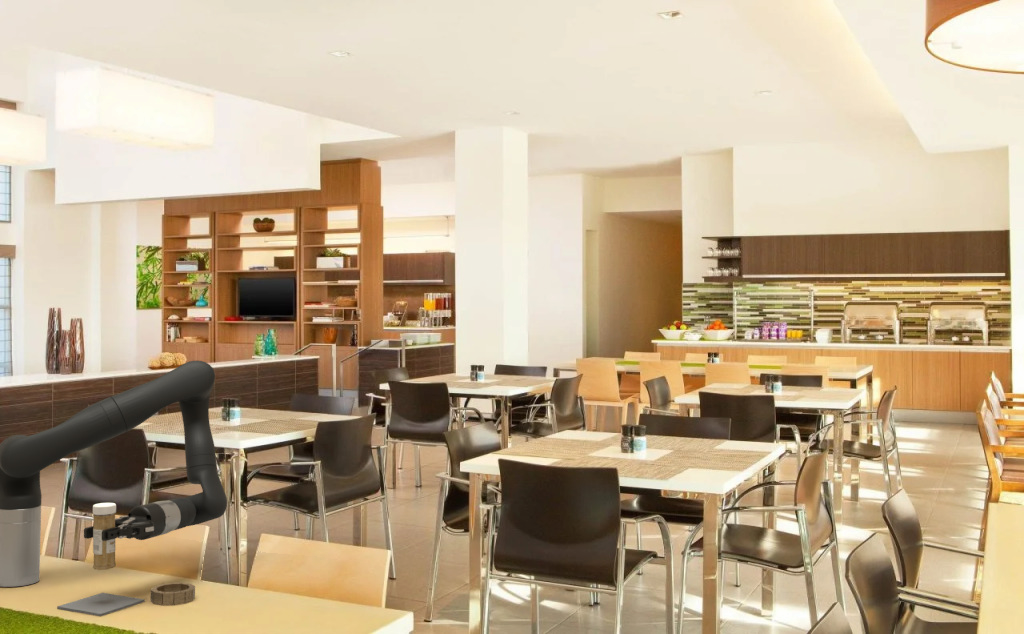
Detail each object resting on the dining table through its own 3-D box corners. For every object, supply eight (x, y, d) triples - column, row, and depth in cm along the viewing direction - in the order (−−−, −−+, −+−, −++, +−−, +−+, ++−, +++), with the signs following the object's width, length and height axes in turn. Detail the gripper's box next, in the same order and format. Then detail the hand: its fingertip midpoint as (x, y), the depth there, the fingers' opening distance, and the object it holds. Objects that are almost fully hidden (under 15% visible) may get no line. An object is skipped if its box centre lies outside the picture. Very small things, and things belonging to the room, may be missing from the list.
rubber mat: (57, 608, 200) (57, 606, 200) (102, 594, 211) (102, 592, 211) (100, 616, 196) (100, 614, 196) (144, 601, 207) (144, 599, 207)
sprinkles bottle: (117, 568, 203) (118, 504, 203) (94, 571, 201) (95, 506, 201) (113, 564, 207) (113, 501, 207) (90, 567, 204) (90, 503, 205)
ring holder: (142, 602, 206) (142, 590, 206) (171, 592, 214) (171, 580, 214) (174, 607, 203) (174, 595, 203) (203, 597, 211) (203, 585, 211)
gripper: (130, 500, 220) (68, 513, 204) (179, 505, 214) (120, 519, 198) (130, 533, 220) (68, 549, 204) (179, 539, 214) (119, 556, 198)
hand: (94, 534), depth 201 cm, fingers closed on sprinkles bottle, 4 cm apart
